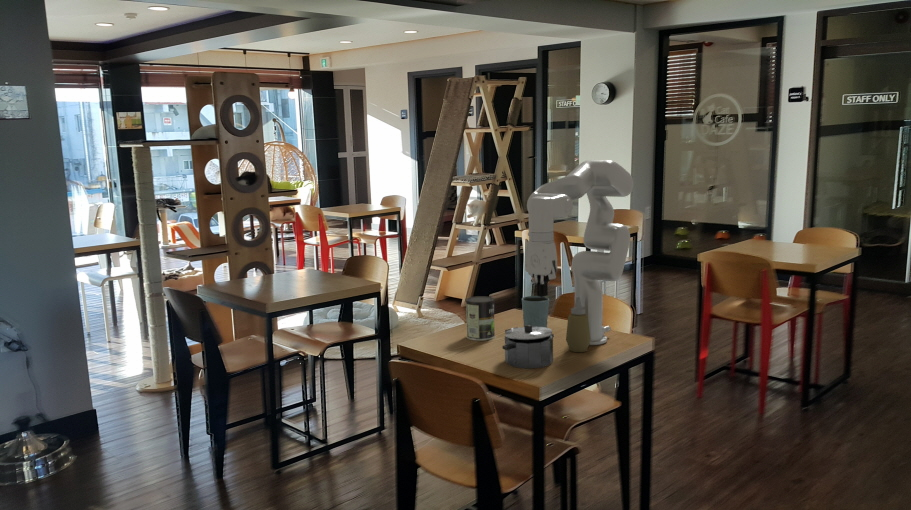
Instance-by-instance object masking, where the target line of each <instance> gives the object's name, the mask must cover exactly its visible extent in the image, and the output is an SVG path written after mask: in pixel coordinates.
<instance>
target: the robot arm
mask: <svg viewBox="0 0 911 510" xmlns="http://www.w3.org/2000/svg"><path fill="white" fill-rule="evenodd" d="M633 189H634V179H633V177H632V175H631V173H630V172H628V171H627V170H626V169H625V168H624V167H623V166H622V165H620V164H619V163H618V162H616V161H615V160H609V159H596V160H595V159H589V160H585V161H582V162H580V163H579V164H578V165H577V166H576V167H575V168H574V169H572V171H570V172H569V173H568V174H567V175H566V176H564V177H560V178H557V179H555V180H553V181H549V182H546V183H544V184H541V186H539V187H537V188H536V189H535V190H534V191H533V192H532V193H531V195H529V197H528V199H527V202H526V209H527V213H528V233H527V236H528V240H527V242H526V246H525V256H524V269H525V270H524V271H525V272H527V273H528V274H527V275H529V276H531V277H532V278H533V280H534V283H535V284H536V296H540V297H547V296H548V294H549V292H548V291H549V290H548V285H549V283H550V281H551V280H555V279H556V278H557V275H556V274H557V273H558V252H557V245H556V242H555V239H554V238H555V233H554V229H555V228H554V224H555V223H554V222H555V221H554V220H555V219H565V218H566V217H568V216H570V214H571V213H572V211H573V208H574V204H573V201H575V200H580V199H581V198H582V197H584V196H585V195H586V196H587V199H588V200H587V201H588V203H589V213H588V214H589V215H588V217H587V222H586V227H585V229H584V233H583V239H582V240H583V245H584V246H585V248H587V249H590V250H589V251H588V250H583V251H579V252H577V253H575V254H574V255H573V257H572V260H571V270H572V275H573V281H574V303H575V302H576V298H577V297H579V298H580V300H581V305H582V307H583V308H585V314H586V315H587V316H588V320H589V330H590V343H589V346H598V345H604V344H605V343H607V342H608V337H607V335H605V334H606V332H607V333H608V332H610V331H611V326H610V325H607V326H606V325H605V326H604V325H603V315H604V314H603V313H604V312H603V311H604V310H603V307H604V305H603V304H604V302H603V300H604V298H603V297H604V295H603V294H604V293H603V289H602V285H601V284H600V282H599V281H604V282H605V281H606V282H616V281H618V280H620V278H621V277H622V275H623V272H624V267H625V264H626V262H627V261H626V260H627V257H628V252H629V248H630V244H631V233H630V229H629V228H628V226H626V225H625V224H621V223H613V222H614V218H615V210H614V207H613V205H612V203H611V202H610V200H609V199H608V197H610V198H611V197H614V198H615V197H617V198H618V197H619V198H624V197H625V198H626V197H628V196H629V195H630V194H632V192H633ZM591 250H592V251H591ZM593 250H595V251H593ZM602 251H603V252H602ZM605 251H607V252H605Z"/></svg>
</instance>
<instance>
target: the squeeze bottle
mask: <svg viewBox="0 0 911 510" xmlns="http://www.w3.org/2000/svg"><path fill="white" fill-rule="evenodd" d="M565 340H566V344H567V347H568V349H569V351H570V352H574V353H584V352H586V351H588V348H589V346H590V345H589V343H590V330H589V320H588V316H587V315H586V314H585V308H583V307H582V305H581V300H580V298H579V297H577V298H576V302H575V301H574V306H573V307H571V308H570V314H568V317H567V326H566V335H565Z"/></svg>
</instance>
